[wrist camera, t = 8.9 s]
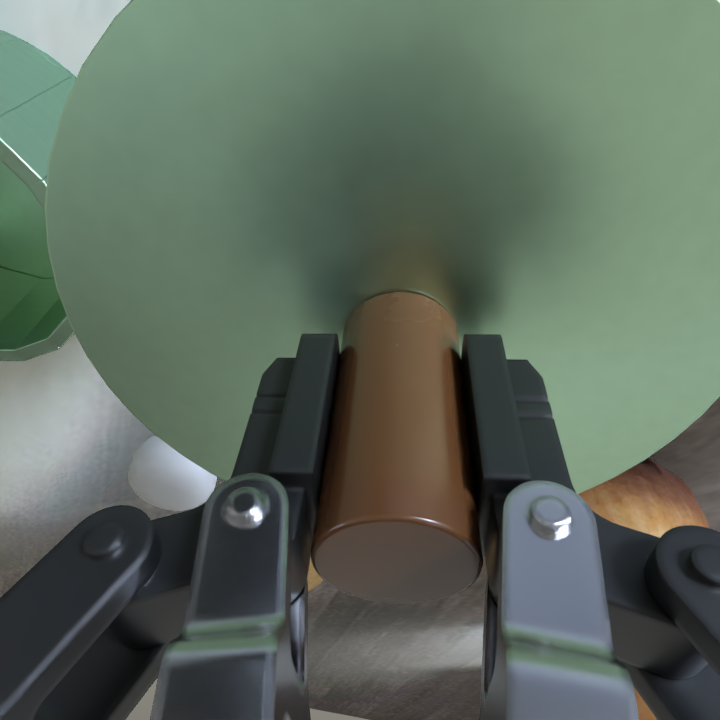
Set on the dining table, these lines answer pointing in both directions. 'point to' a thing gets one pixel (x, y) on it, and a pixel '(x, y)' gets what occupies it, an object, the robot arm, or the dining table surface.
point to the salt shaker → (168, 477)
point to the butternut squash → (646, 510)
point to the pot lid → (397, 238)
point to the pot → (28, 200)
